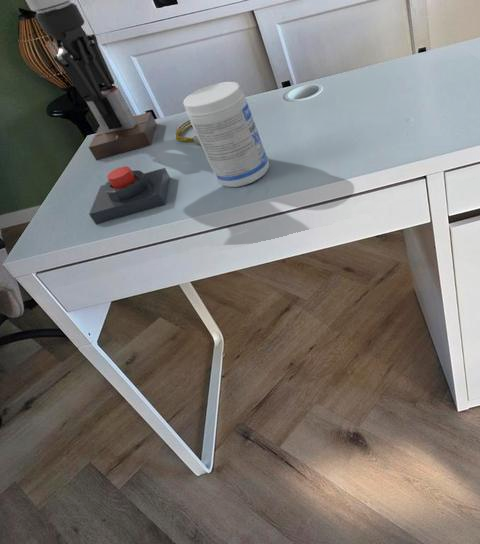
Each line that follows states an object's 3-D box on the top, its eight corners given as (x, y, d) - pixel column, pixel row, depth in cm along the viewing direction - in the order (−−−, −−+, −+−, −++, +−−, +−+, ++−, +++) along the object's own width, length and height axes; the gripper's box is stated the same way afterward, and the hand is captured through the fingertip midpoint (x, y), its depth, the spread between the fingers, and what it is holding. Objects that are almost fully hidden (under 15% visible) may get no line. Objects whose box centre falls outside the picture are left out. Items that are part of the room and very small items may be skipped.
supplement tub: (279, 171, 84) (250, 87, 75) (230, 195, 81) (194, 111, 71) (256, 155, 91) (226, 76, 81) (210, 177, 88) (173, 98, 78)
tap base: (96, 160, 104) (87, 146, 102) (106, 137, 113) (99, 125, 111) (150, 144, 105) (143, 131, 103) (156, 123, 114) (150, 110, 112)
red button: (111, 191, 83) (104, 181, 81) (115, 180, 86) (109, 170, 84) (134, 185, 83) (128, 174, 81) (137, 174, 86) (131, 164, 84)
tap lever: (104, 133, 107) (83, 96, 102) (108, 128, 108) (88, 92, 103) (133, 128, 106) (113, 90, 100) (137, 123, 107) (118, 86, 102)
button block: (96, 224, 82) (82, 205, 80) (107, 195, 90) (95, 177, 87) (165, 205, 83) (154, 185, 80) (170, 178, 91) (160, 158, 88)
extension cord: (173, 157, 98) (169, 148, 96) (179, 126, 110) (175, 118, 108) (232, 140, 98) (228, 131, 97) (232, 112, 110) (229, 103, 109)
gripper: (51, 14, 85) (120, 137, 100) (90, -7, 97) (146, 107, 112) (13, 22, 86) (87, 143, 101) (56, 1, 98) (116, 113, 113)
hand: (118, 124), depth 107 cm, fingers closed on tap lever, 2 cm apart
